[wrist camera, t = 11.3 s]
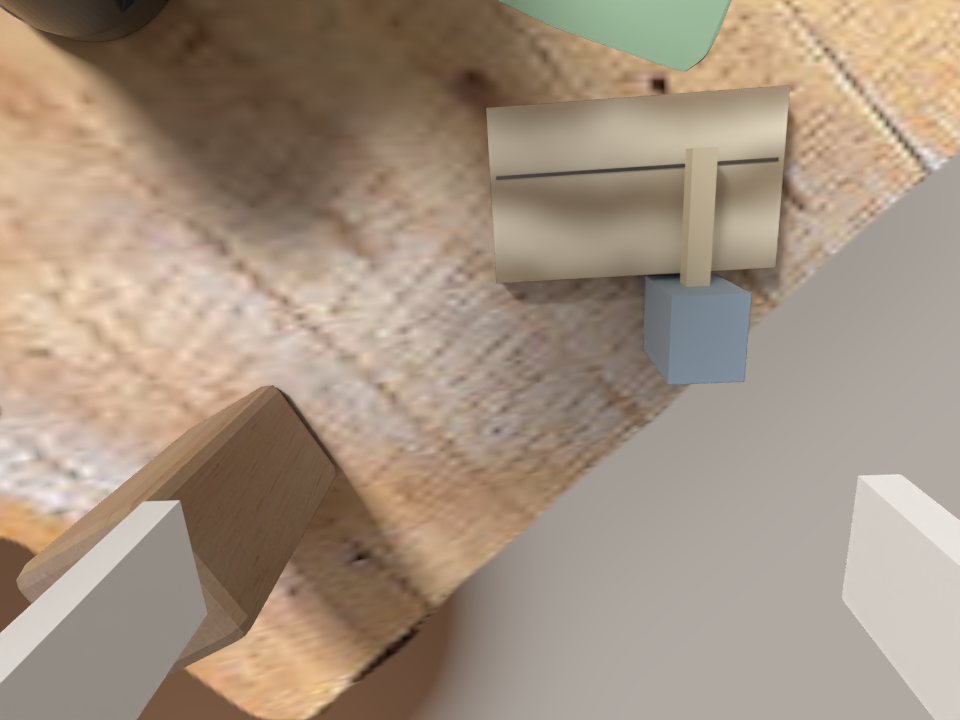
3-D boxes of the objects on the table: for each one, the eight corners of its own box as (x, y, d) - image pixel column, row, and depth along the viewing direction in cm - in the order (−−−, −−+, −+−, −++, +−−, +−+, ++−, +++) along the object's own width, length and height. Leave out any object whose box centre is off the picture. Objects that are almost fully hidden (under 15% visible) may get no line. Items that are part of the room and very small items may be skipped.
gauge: (648, 151, 44) (677, 148, 37) (719, 147, 44) (763, 143, 36) (643, 350, 49) (668, 384, 41) (707, 347, 48) (744, 381, 41)
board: (487, 111, 44) (486, 107, 41) (774, 89, 42) (790, 84, 40) (497, 277, 47) (496, 283, 45) (761, 262, 46) (776, 267, 44)
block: (343, 471, 53) (251, 641, 34) (253, 520, 55) (118, 707, 36) (275, 377, 51) (135, 504, 32) (183, 431, 53) (-1, 582, 34)
